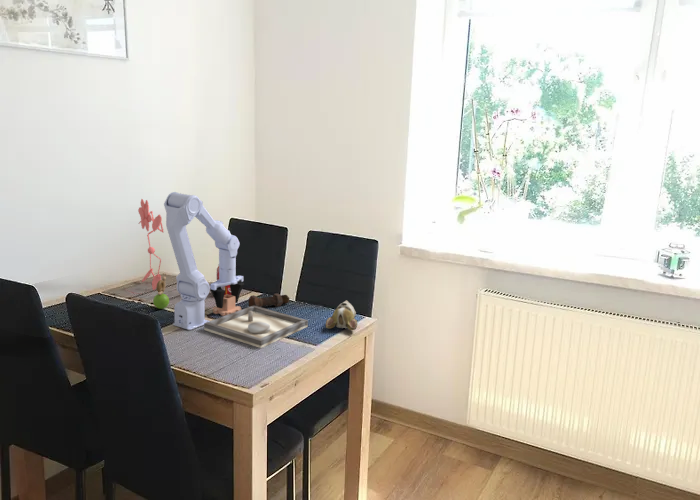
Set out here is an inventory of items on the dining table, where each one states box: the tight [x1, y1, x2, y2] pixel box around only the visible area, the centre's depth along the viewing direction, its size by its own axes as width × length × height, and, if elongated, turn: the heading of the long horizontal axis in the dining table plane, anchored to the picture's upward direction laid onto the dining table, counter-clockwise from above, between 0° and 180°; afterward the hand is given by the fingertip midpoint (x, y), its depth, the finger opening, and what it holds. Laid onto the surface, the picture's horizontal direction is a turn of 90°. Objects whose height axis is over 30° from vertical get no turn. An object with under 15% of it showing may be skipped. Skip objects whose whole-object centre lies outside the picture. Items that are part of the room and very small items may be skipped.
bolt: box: [247, 293, 290, 308], centre depth 223 cm, size 6×5×15 cm
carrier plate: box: [203, 305, 309, 349], centre depth 201 cm, size 24×24×4 cm
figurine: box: [124, 198, 164, 295], centre depth 235 cm, size 15×26×35 cm, turn 35°
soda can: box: [216, 263, 231, 295], centre depth 234 cm, size 7×7×12 cm
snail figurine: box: [152, 272, 170, 310], centre depth 215 cm, size 5×6×12 cm
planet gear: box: [212, 294, 242, 317], centre depth 216 cm, size 9×9×6 cm
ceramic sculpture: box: [325, 300, 358, 331], centre depth 206 cm, size 11×9×15 cm
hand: (227, 304), depth 216 cm, fingers open, 7 cm apart
